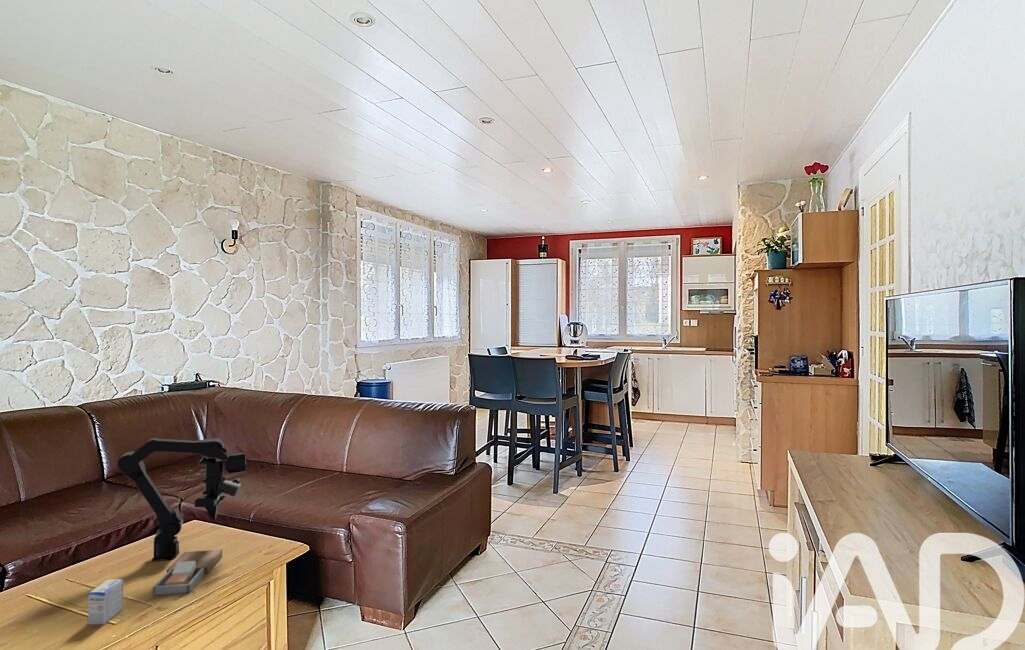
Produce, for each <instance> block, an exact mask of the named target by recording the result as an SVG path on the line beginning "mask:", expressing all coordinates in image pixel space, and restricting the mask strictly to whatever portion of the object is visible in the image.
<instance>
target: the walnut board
mask: <svg viewBox="0 0 1025 650" xmlns="http://www.w3.org/2000/svg"><path fill="white" fill-rule="evenodd" d="M222 558H223V549H213V550H212V549H210V550H195V551H193V550H192V551H183V552H182V554H180V556H179V557H177V559H176V560H175V561H174V562H173V563H172V564H171V565H170V566H168V568H167V569H166V573H167V572H168V571H169V570H174V568H175V567H176V565H177V563H178V562H186V561H195V562H196V569H195V571H194V573H193V575H196V574H197V573H198V572H199V570H200V569H201V568H204V576H208V575H209V574H210V573H211V571H212V570H213V569H214V568H215V567H216V565H217V564H218V563H219V562H220V561H221V559H222Z"/></svg>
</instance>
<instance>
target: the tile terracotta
mask: <svg viewBox="0 0 1025 650" xmlns="http://www.w3.org/2000/svg"><path fill="white" fill-rule="evenodd" d="M188 583H189V574H183V575H171V577H170V578H169V579H168V580H167V581H166V582H165V585H180V584H188Z"/></svg>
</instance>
